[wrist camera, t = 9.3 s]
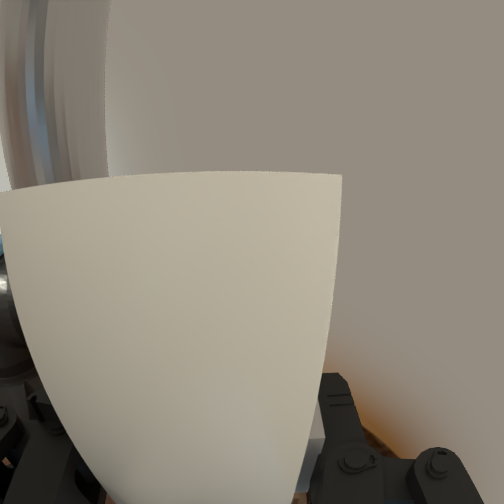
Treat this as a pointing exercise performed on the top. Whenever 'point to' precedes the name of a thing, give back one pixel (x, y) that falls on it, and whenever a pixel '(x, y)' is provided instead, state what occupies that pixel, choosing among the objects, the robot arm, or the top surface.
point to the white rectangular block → (179, 324)
